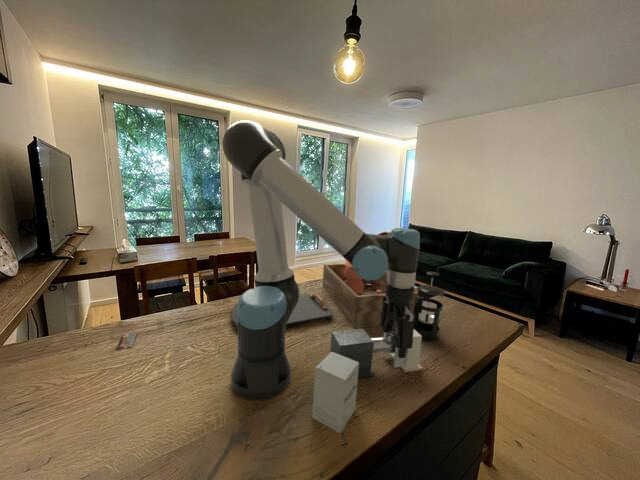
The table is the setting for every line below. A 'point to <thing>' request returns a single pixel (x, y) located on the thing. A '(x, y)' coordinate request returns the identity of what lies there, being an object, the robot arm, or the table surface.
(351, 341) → the dark grey block
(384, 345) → the rod
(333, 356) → the supplement box
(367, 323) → the box
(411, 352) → the socket
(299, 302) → the serving board
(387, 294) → the robot arm
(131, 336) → the chocolate bar
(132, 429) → the table surface
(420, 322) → the french press
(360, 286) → the ceramic vessels
